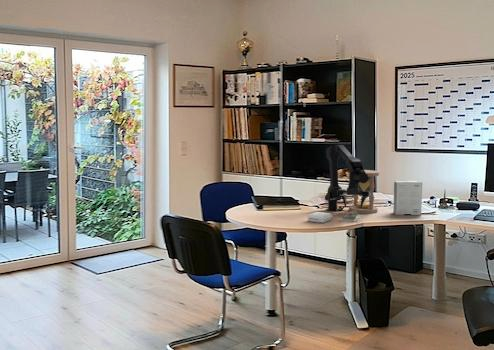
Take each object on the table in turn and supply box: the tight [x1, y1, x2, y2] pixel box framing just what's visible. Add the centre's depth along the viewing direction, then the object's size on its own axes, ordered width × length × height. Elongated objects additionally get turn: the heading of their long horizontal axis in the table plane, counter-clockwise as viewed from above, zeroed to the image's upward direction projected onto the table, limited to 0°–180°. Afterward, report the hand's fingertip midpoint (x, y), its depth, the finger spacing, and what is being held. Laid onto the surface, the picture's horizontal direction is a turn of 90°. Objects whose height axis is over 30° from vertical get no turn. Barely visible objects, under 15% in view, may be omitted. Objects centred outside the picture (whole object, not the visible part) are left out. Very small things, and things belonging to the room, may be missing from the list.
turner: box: [342, 210, 358, 220], centre depth 308 cm, size 15×6×3 cm, turn 155°
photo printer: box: [307, 211, 333, 224], centre depth 299 cm, size 10×4×12 cm
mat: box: [340, 213, 363, 222], centre depth 308 cm, size 18×8×1 cm, turn 155°
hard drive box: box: [393, 180, 423, 216], centre depth 321 cm, size 16×8×20 cm, turn 84°
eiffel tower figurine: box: [437, 189, 456, 211], centre depth 342 cm, size 15×10×13 cm
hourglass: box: [348, 169, 380, 215], centre depth 329 cm, size 18×18×25 cm
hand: (353, 207), depth 310 cm, fingers open, 9 cm apart
